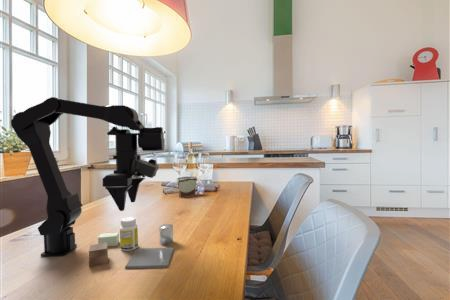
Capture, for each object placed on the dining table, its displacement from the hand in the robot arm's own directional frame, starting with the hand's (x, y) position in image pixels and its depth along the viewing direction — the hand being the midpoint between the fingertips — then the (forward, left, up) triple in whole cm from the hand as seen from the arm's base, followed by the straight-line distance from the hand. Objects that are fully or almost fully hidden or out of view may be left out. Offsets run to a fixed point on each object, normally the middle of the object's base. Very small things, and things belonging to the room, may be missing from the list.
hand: (127, 206), depth 73 cm
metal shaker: (+10, +3, -12) cm, 16 cm away
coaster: (+8, -7, -12) cm, 16 cm away
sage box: (-7, +3, -12) cm, 14 cm away
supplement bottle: (0, 0, -12) cm, 12 cm away
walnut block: (-5, -8, -12) cm, 15 cm away
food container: (+8, +67, -12) cm, 69 cm away
